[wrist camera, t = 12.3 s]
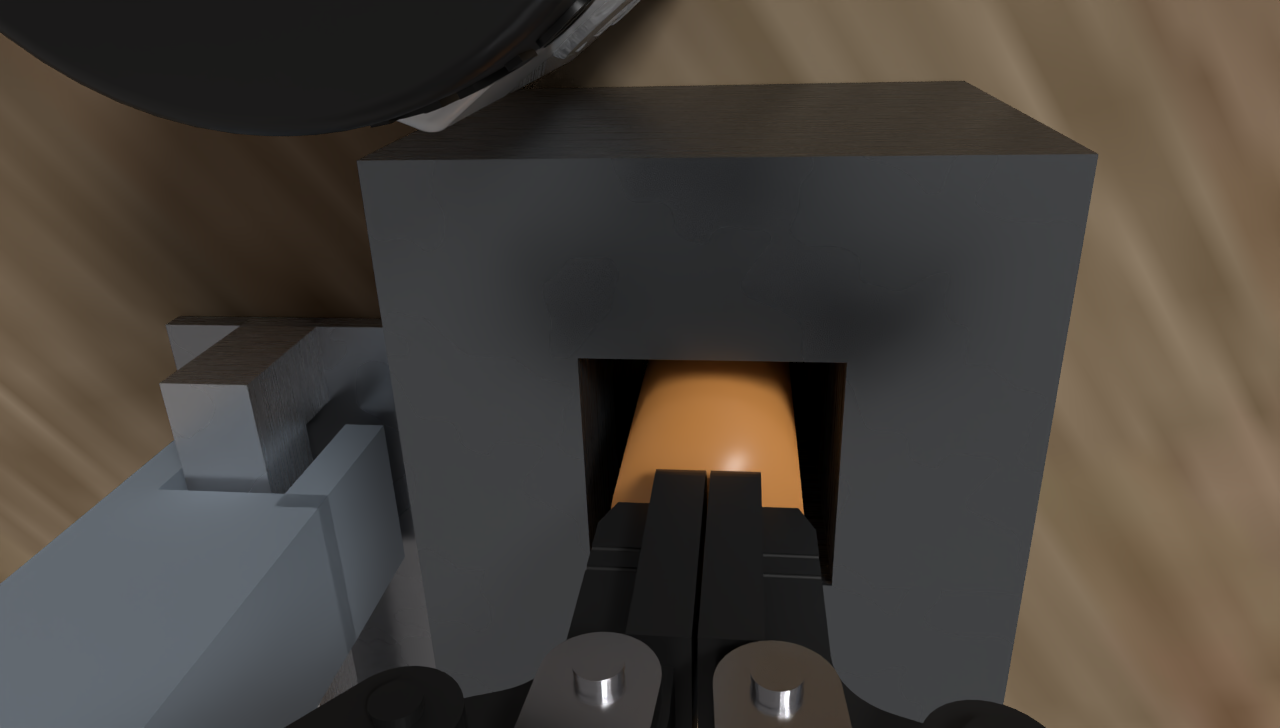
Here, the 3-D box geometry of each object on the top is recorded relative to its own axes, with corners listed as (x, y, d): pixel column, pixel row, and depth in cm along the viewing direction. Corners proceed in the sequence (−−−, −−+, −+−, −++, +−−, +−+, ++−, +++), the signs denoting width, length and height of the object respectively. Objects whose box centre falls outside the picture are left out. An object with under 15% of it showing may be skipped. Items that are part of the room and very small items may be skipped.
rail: (320, 874, 32) (264, 992, 28) (179, 315, 23) (73, 381, 20) (485, 888, 31) (451, 1011, 27) (403, 318, 23) (336, 387, 19)
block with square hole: (534, 477, 24) (441, 700, 17) (499, 89, 20) (357, 160, 13) (927, 490, 23) (1009, 735, 16) (974, 81, 19) (1114, 153, 12)
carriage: (230, 549, 25) (-81, 900, 16) (197, 420, 23) (-174, 726, 14) (404, 556, 24) (190, 926, 15) (383, 425, 23) (127, 748, 13)
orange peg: (661, 377, 21) (615, 595, 14) (658, 262, 20) (607, 433, 13) (782, 379, 21) (800, 603, 13) (786, 262, 20) (808, 438, 12)
